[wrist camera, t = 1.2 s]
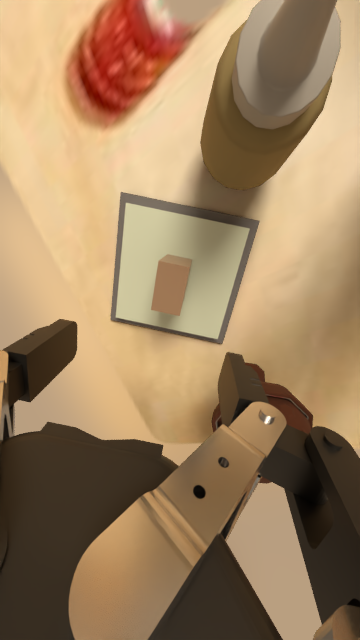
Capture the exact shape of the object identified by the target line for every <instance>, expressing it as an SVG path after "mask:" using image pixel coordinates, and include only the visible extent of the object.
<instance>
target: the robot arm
mask: <svg viewBox="0 0 360 640" xmlns="http://www.w3.org/2000/svg"><path fill="white" fill-rule="evenodd" d="M76 351H77V324H76V322H74V321H69V320H64V319H59V320H57V321H56V322H54V323H53V324H51V325H50V326H46V327H43V328H39V329H37V330H35V331H33V332H32V333H30V334H29V335H26V336H25V337H24V338H23V339H20V340H18V341H17V342H15V343H13V344H11V345H10V346H8V347H6V348H5V349H3V350H0V640H283V639H282V638H281V636H280V634H279V633H278V631H277V629H276V627H275V626H274V624H273V622H272V620H271V619H270V617H269V615H268V614H267V612H266V610H265V608H264V607H263V605H262V603H261V601H260V600H259V598H258V596H257V595H256V593H255V591H254V589H253V588H252V586H251V584H250V582H249V581H248V579H247V577H246V576H245V574H244V572H243V570H242V569H241V567H240V565H239V564H238V562H237V560H236V558H235V557H234V555H233V553H232V551H231V550H230V548H229V546H228V545H227V543H226V540H227V539H228V537H229V535H230V533H231V531H232V529H233V528H234V526H235V524H236V522H237V520H238V518H239V516H240V514H241V512H242V510H243V509H244V507H245V505H246V503H247V502H248V500H249V498H250V497H251V495H252V493H253V492H254V490H255V488H256V486H257V485H258V483H259V481H260V479H261V478H262V477H264V478H265V479H267V480H269V481H271V482H273V483H275V484H277V485H279V486H281V487H283V488H284V489H285V493H286V496H287V500H288V503H289V507H290V511H291V514H292V518H293V522H294V525H295V529H296V533H297V536H298V540H299V543H300V547H301V551H302V554H303V558H304V561H305V565H306V569H307V572H308V576H309V579H310V583H311V587H312V590H313V594H314V598H315V601H316V605H317V608H318V612H319V616H320V619H321V622H322V626H321V627H320V628H319V629H318V630H317V631H316V633H315V635H314V638H313V640H360V458H359V457H358V455H357V454H356V452H355V451H354V449H353V448H352V446H351V445H350V444H349V443H348V442H347V441H346V440H345V439H344V438H343V437H342V436H340V435H339V434H337V433H336V432H334V431H332V430H330V429H328V428H325V427H319V426H317V427H313V428H312V429H311V431H310V433H309V434H307V433H305V432H303V431H300V430H298V429H296V428H293V427H291V426H289V425H288V424H286V419H285V417H284V415H283V414H282V413H281V412H280V411H279V410H278V409H277V408H275V407H274V406H272V405H270V404H269V401H268V399H267V396H266V394H265V391H264V389H263V387H262V384H261V382H260V379H259V377H258V374H257V372H256V371H255V370H254V369H253V368H252V367H251V366H247V365H245V362H244V359H243V357H242V355H240V354H235V353H230V352H227V353H226V356H225V359H224V362H223V366H222V369H221V373H220V376H219V381H218V394H219V402H220V411H221V419H222V425H221V426H220V427H219V428H218V429H217V430H216V431H215V432H214V433H213V434H212V435H211V436H210V437H209V438H208V439H207V440H206V441H205V442H204V443H203V444H201V445H200V446H199V448H197V450H195V451H194V452H193V453H192V454H191V455H190V456H189V457H188V458H187V459H186V460H185V461H184V462H183V463H182V464H181V465H180V466H178V465H176V464H175V463H174V462H173V461H171V460H170V459H168V458H167V457H164V456H163V455H162V449H163V445H160V444H155V443H150V442H145V441H140V440H135V439H130V440H101V439H98V438H96V437H94V436H92V435H90V434H88V433H86V432H84V431H82V430H80V429H78V428H76V427H70V426H66V425H61V424H56V423H51V422H47V424H46V425H45V426H44V427H43V429H42V430H41V431H36V432H28V433H23V434H19V435H16V436H14V426H15V407H14V403H15V402H16V401H17V400H22V401H27V402H31V401H32V400H33V399H34V398H35V397H36V396H37V395H38V394H39V393H40V392H41V391H42V390H43V389H44V388H45V387H46V386H47V385H48V384H49V383H50V382H51V381H52V380H53V379H54V378H55V377H56V376H57V375H58V374H59V373H60V372H61V371H62V370H63V369H64V368H65V367H66V366H67V365H68V363H70V362H71V361H72V360H73V358H74V357H75V355H76Z"/></svg>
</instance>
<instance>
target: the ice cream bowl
mask: <svg viewBox="0 0 360 640" xmlns="http://www.w3.org/2000/svg"><path fill="white" fill-rule="evenodd" d="M245 365H247V366H251V367H252V368H253V369H254V370H255V371H256V372H257V374H258V377H259V379H260V382H261V384H262V387H263V389H264V391H265V394H266V396H267V399H268V401H269V404H270V405H272V406H274V407H275V408H277V409H278V410H279V411H280V412H281V413H282V414H283V415H284V417H285V419H286V424H288V425H289V426H291V427H293V428H296V429H298V430H300V431H303V432H305V433H307V434H309V433H310V431H311V429H312V423H313V415H312V414H311V413H310V412H309V411H308V410H307V408H306V407H305V406H304V405H303V404H302V403H301V402H300V401H299V400H298V399H297V398H295V397H294V396H293V395H292V394H291V393H290V392H289V391H288V390H287V389H286V388H285V387H283V386H281V385H278V384H272V383H266V382H265V376H264V371H263V370H262V369H261V368H260V367H259V366H258V365H256V364H250V363H245ZM221 425H222V419H221V411H220V403H219V404H218V406H217V407H216V409H215V411H214V412H213V417H212V427H213V433H214V432H215V431H216V430H217V429H218V428H219V427H220V426H221ZM270 482H271V481H269V480H267V479H265V478H264V477H262V478H261V479H260V481H259V483H270Z"/></svg>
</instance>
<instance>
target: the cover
mask: <svg viewBox="0 0 360 640" xmlns="http://www.w3.org/2000/svg"><path fill="white" fill-rule="evenodd" d="M249 230H250V229H249V228H245V227H240V226H235V225H230V224H226V223H221V222H216V221H211V220H206V219H202V218H197V217H192V216H187V215H183V214H178V213H173V212H168V211H164V210H159V209H154V208H149V207H144V206H140V205H135V204H130V203H126V207H125V218H124V229H123V240H122V252H121V263H120V274H119V285H118V296H117V308H116V318H121V319H126V320H130V321H135V322H139V323H144V324H149V325H153V326H158V327H163V328H167V329H172V330H177V331H181V332H186V333H191V334H195V335H200V336H204V337H209V338H214V339H218V336H219V333H220V329H221V326H222V323H223V319H224V316H225V312H226V309H227V305H228V302H229V298H230V295H231V292H232V288H233V285H234V281H235V278H236V274H237V271H238V268H239V264H240V261H241V257H242V254H243V250H244V247H245V244H246V240H247V237H248V233H249Z"/></svg>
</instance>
